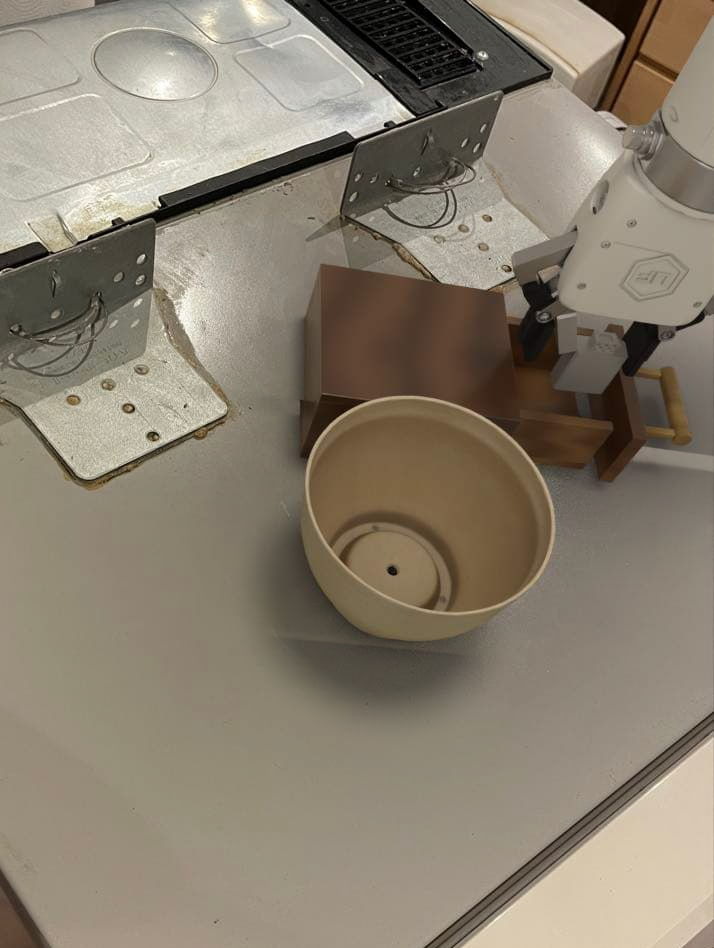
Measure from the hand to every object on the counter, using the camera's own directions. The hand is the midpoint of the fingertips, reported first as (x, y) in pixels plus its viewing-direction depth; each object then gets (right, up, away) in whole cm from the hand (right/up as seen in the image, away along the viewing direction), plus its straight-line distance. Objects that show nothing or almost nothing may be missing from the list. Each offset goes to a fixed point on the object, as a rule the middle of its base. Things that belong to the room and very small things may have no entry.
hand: (576, 353), depth 74 cm
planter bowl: (-15, -17, -3) cm, 23 cm away
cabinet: (-14, -3, +5) cm, 15 cm away
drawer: (0, -4, +7) cm, 8 cm away
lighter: (-1, -2, +3) cm, 3 cm away
